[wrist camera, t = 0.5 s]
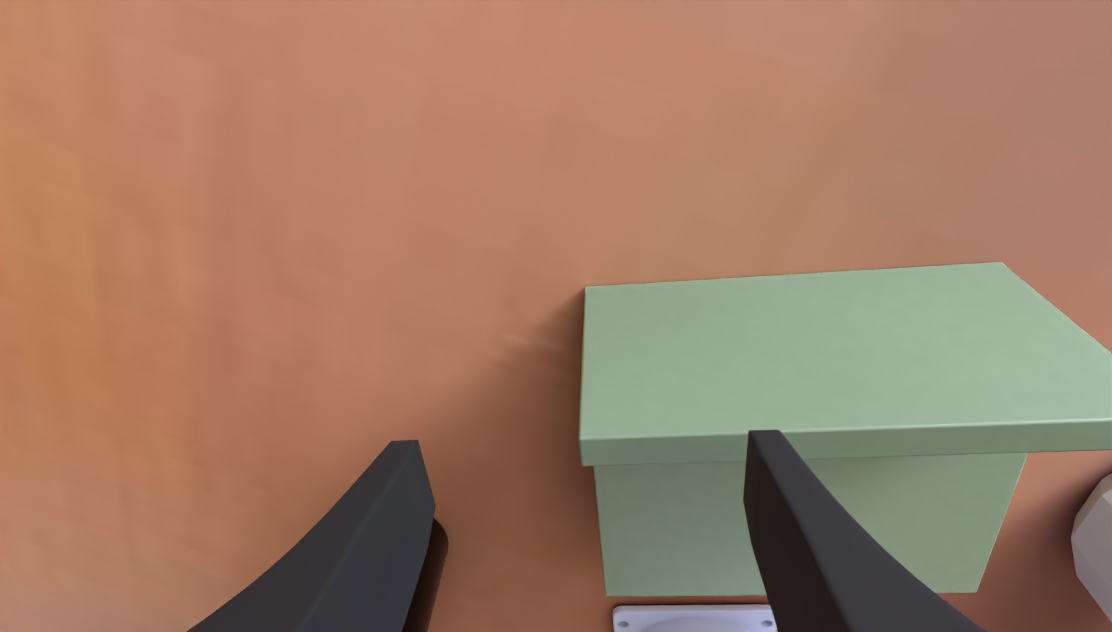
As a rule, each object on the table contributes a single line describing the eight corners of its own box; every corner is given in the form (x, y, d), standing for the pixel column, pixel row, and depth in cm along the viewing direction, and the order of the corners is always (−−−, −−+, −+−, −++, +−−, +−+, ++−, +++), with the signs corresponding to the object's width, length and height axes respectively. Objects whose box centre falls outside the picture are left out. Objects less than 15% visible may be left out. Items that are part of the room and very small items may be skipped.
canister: (459, 572, 31) (420, 750, 25) (358, 573, 32) (292, 748, 25) (439, 497, 29) (388, 674, 22) (329, 500, 29) (246, 673, 22)
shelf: (929, 511, 27) (1039, 703, 21) (604, 518, 29) (606, 701, 22) (1001, 261, 21) (1191, 416, 14) (584, 286, 23) (577, 438, 16)
